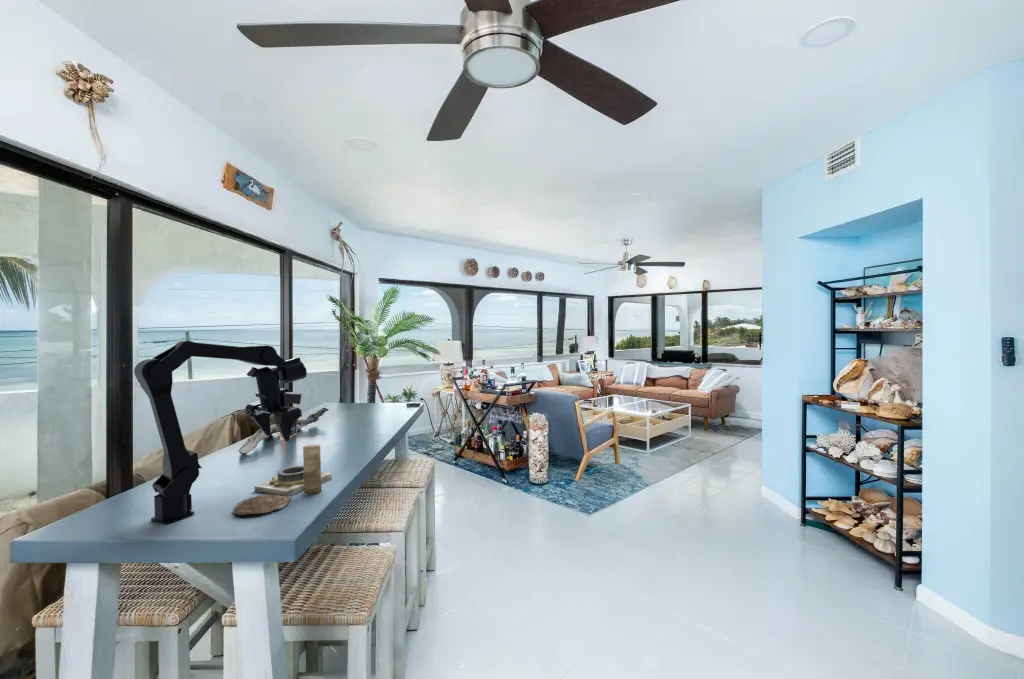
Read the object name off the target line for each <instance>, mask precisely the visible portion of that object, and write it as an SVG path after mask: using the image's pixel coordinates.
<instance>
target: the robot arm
mask: <svg viewBox="0 0 1024 679" xmlns="http://www.w3.org/2000/svg"><path fill="white" fill-rule="evenodd" d="M191 357H197V358H209V359H210V358H211V359H223V360H235V361H239V362H243V363H246V364H250V365H254V366H264V367H260V368H257V367H254V366H252V367H251V368H250V370H249V371H248V372H247V373H246V376H247V377H251V378H255V379H256V385H257V386H256V387H257V392H255V393H254V394H255V397H257V398H259V400H257V401H256V400H255V401H253V402H250V403H248V404H247V405H246V406H245V407H244V409H245V413H246V415H248V416H249V417H250V419H252V420H253V421H254V422H255V424H256V425H257V426H258V427H259V428H260V430H261V431H262V432H263V433H264V435H265V436H267V437H268V436H270V435H272V433H271V428H272V427H271V416H272V415H273V418H274V420H275V426H276V427H277V429H278V431H279V433H280V435H281V437H282V439H283V440H284V441H285V442H288V441H290V438H291V433H292V429H293V426H294V423H295V422H296V421H297V420H299V419H300V418H301V417H302V416H303V413H302V409H301V408H299V407H297V406H291V405H289V404H292V405H301V402H302V397H303V396H302V395H303V394H302V393H300V392H299V393H297V392H292V391H290V389H289V388H283V387H281V382H283V383H284V384H288V383H292V382H297V381H300V380H303V379H304V380H305V379H306V377H307V372H308V371H307V368H306V367H305V365H304V363H303V362H302V360H301V358H300V357H297V356H296V357H292V358H291V359H286V360H285V359H283V358H282V356H280V355H279V354H278V353H277V350H276V349H275V347H274V346H272V345H265V344H263V345H244V346H238V345H237V346H236V345H225V344H217V343H216V344H215V343H203V342H195V341H192V340H182V341H179V342H178V341H177V343H175V345H173V346H171V347H169V348H168V349H166V350H164V351H163V352H160V353H158V354H157V355H155V356H154V357H152V358H148V359H144V360H141V361H140V362H137V364H136V365H135V367H134V370H133V373H134V375H135V378H136V380H137V382H138V383H139V385H140V387H141V388H142V390H143V391H144V393H145V394H146V396H147V397H148V399H149V402H150V407H151V410H152V414H153V418H154V420H155V424H156V428H157V431H158V434H159V439H160V442H161V446H162V449H163V456H162V474H160V476H159V477H158V478H157V479H156V480H154V482H153V483H152V484H151V486H152V489H153V490H154V492H155V493H158V494H156V495H154V496H153V498H154V499H153V500H154V501H153V502H154V503H153V504H154V516H153V517H151V518H150V521H151V522H154V523H161V524H165V525H167V524H171V523H173V522H174V523H175V522H176V521H178V520H183V519H185V518H187V517H190V516H192V515H194V514H195V511H192V510H193V508H192V507H193V505H192V504H193V503H192V494H191V493H190V492H191V489H192V486H193V484H194V483H195V482H196V481H197V479H198V478H199V476H200V469H202V465H200V463H199V455H198V453H197V452H195V451H192V450H191V449H187V447H186V445H185V441H184V437H183V434H182V430H181V426H180V424H179V418H178V415H177V412H176V406H175V404H174V401H173V397H172V390H173V389H172V388H173V382H174V381H173V372H174V371H175V370H176V369H178V368H180V367H181V366H182V365H183V364H184V363H185V362H186V361H188V360H189V359H190V358H191ZM271 367H272V368H271Z"/></svg>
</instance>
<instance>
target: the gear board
mask: <svg viewBox="0 0 1024 679" xmlns="http://www.w3.org/2000/svg"><path fill="white" fill-rule="evenodd" d="M276 473H277V475H274V476H273V477H271V479H270V480H267V481H264V482H262V483H258V484H256V485H254V486H253V487H254V492H256V491H258V493H262V492H264V493H263V494H268V493H270V494H269V495H274V494H277V495H278V496H281V495H283V496H290V495H291V496H293V495H295V494H298V493H300V492H302V490H303V491H304V465H295V466H289V467H285V468H282V469H280V470H278V471H277V472H276ZM332 477H333V476H332V472H331V473H330V472H322V471H321V482H322V483H324V482H326V480H327V481H330V480H332V479H333V478H332ZM331 478H332V479H331ZM299 491H300V492H299ZM297 492H298V493H297ZM294 493H295V494H294ZM292 494H293V495H292Z"/></svg>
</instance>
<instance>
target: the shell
mask: <svg viewBox="0 0 1024 679" xmlns="http://www.w3.org/2000/svg"><path fill="white" fill-rule="evenodd" d="M291 496H292V495H291ZM291 496H281V495H274V494H268V493H265V494H260V495H259V494H258V495H255V496H254V497H253V496H251V497H248V498H245V499H243V500H241V501H239V502H238V503H236V505H235V506H234V508H233V510H232V511H233V514H234V516H235V517H238V518H243V519H245V518H248V517H251V518H253V517H257V516H263V515H264V516H268V515H271V514H273V512H274V513H277V512H280V511H281V510H284V509H285V508H286V507H288V506H289V504H290V502H291V499H292V497H291ZM289 501H290V502H289ZM285 506H286V507H285ZM283 508H284V509H283ZM279 510H280V511H279ZM270 513H271V514H270ZM267 514H268V515H267Z"/></svg>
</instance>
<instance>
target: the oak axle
mask: <svg viewBox="0 0 1024 679" xmlns="http://www.w3.org/2000/svg"><path fill="white" fill-rule="evenodd" d="M302 452H303V453H302V454H303V456H302V457H303V466H304V490H303V492H304V495H305V494H308V495H307V496H311V495H310V494H314V495H317V493H318V494H320V493H321V492H322V491H323V490H322V483H321V472H322V463H321V462H322V461H321V460H322V459H321V445H320V444H314V443H313V444H307V445H305V446H303V447H302Z"/></svg>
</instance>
